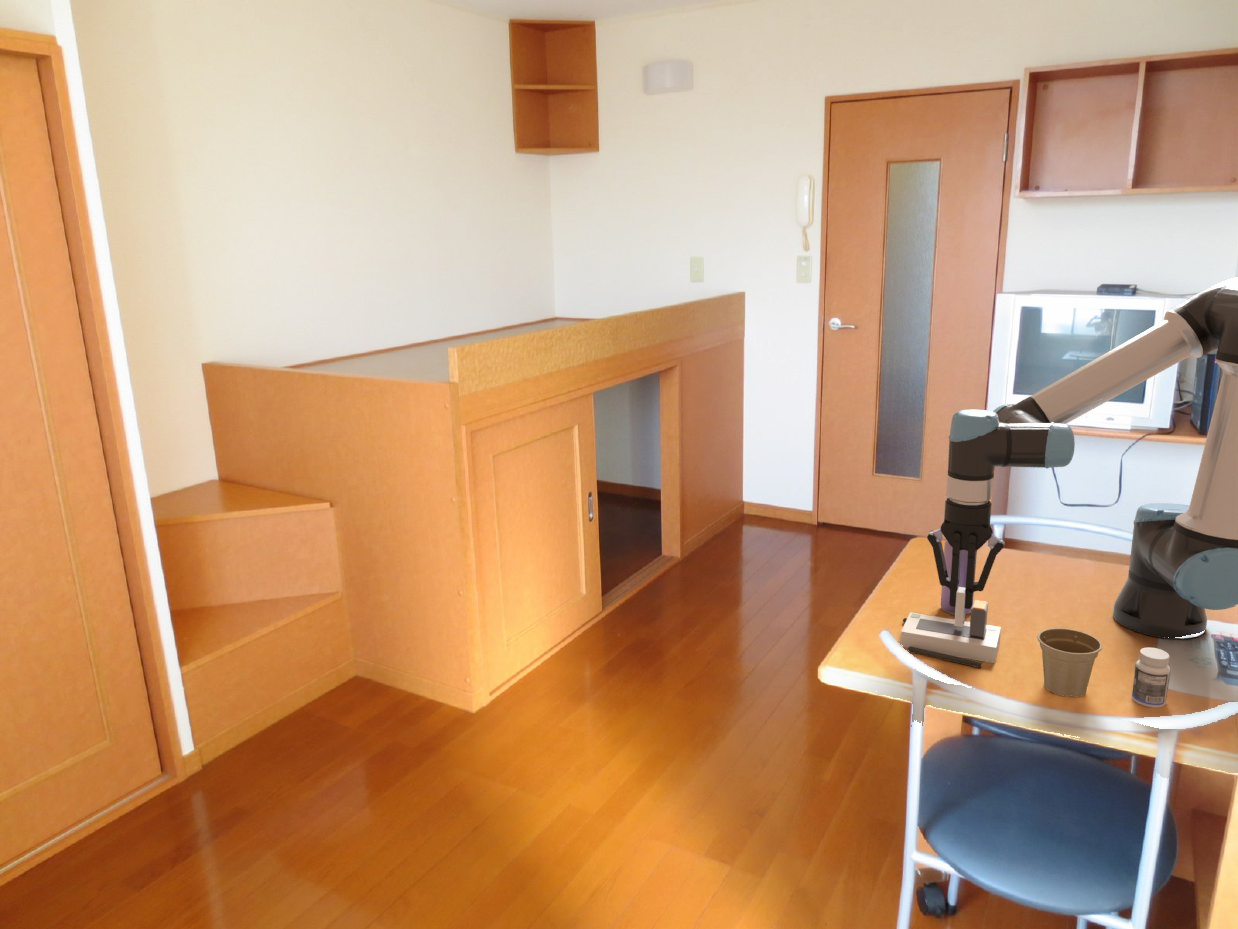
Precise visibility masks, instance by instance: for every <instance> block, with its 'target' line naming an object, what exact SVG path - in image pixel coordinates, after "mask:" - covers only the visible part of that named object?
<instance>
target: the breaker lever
mask: <svg viewBox="0 0 1238 929" xmlns="http://www.w3.org/2000/svg"><path fill="white" fill-rule="evenodd" d="M988 611H989V602H988V601H986V600H977V599H975V600H973V605H972V608H971V612H970V620H969V622H970V633H969V635H973V636H979V637H984V635H985V631H986V625H988V624H987V623H988V622H987V621H988Z"/></svg>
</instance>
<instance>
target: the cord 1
mask: <svg viewBox="0 0 1238 929" xmlns="http://www.w3.org/2000/svg"><path fill="white" fill-rule="evenodd" d="M908 650H909V651H910V653H913V654H916V655H917V654H918V655H923V656H927V657H931V658H936V659H940V660H943V661H949V662H953V663H957V664H960V665H966V666H971V667H975V668H978V669H980V668H981V667H982V662H983V661H979V660H973V659H968V658H962V657H956V656H951V655H947V654H943V653H938V652H934V651H929V650H925V649H920V648H916V647H911V646H910V647H908V648H907V651H908ZM909 651H908V652H909Z"/></svg>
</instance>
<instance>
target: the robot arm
mask: <svg viewBox="0 0 1238 929" xmlns="http://www.w3.org/2000/svg"><path fill="white" fill-rule="evenodd" d="M1213 351H1216V354H1215V360H1214V361H1215V362H1216V364H1217V365H1218V366H1219V368H1220V369H1221V370H1222V376H1221V380H1220V384H1219V388H1218V391H1217V396H1216V398H1215V403H1214V407H1213V412H1212V415H1211V419H1210V424H1209V427H1208V431H1207V436H1206V440H1205V442H1204V443H1205V444H1204V447H1203V451H1202V455H1201V459H1200V463H1199V467H1198V471H1197V475H1196V478H1195V482H1194V486H1193V487H1194V488H1193V492H1192V495H1191V499H1190V502H1189V504H1183V503H1182V504H1181V503H1173V502H1172V503H1171V502H1170V503H1169V502H1166V503H1165V502H1164V503H1163V502H1155V503H1145V504H1143V505H1140V506H1139V507H1138V508H1137V509H1136V513H1135V518H1134V520H1133V530H1132V531H1133V532H1132V538H1131V539H1132V540H1131V541H1132V542H1131V547H1130V548H1131V550H1130V558H1129V559H1130V560H1129V566H1128V568H1129V569H1128V576H1127V579H1126V581H1125V583H1124V585H1123V587H1122V588H1121V590H1120V593H1118V596H1117V598H1116V600H1115V601H1114V605H1113V610H1112V611H1113V612H1112V616H1113V619H1114V620H1115V621H1116V622H1117V623H1118V624H1120V625H1121V626H1123V627H1125V628H1127V629H1129V630H1131V631H1133V632H1137V633H1140V634H1143V635H1146V636H1151V637H1154V638H1161V639H1168V637H1169V638H1175V637H1182V636H1186V635H1191V634H1196V633H1200V632H1202V631H1204V630H1205V629H1206V630H1207V624H1208V618H1207V617H1208V616H1207V612H1206V610H1208V611H1209V610H1211V611H1222V610H1227V609H1231V608H1234V607H1236V606H1238V276H1236V277H1232V278H1228V279H1225V280H1223V281H1221V282H1218V283H1216V284H1214V285H1212V286H1210V287H1207V288H1206V289H1204V290H1202V291H1200V292H1199V293H1197V294H1195V295H1194V296H1192V297H1190V298H1188V299H1186V300H1184V301H1183V302H1181V303H1180V304H1177V305H1175V306H1174V307H1172V308H1170V310H1168V311H1166V312H1165V314H1164V316H1163V320H1162V321H1160V322H1158V323H1157V324H1154V325H1153V326H1151V327H1150V328H1148V329H1146V330H1145V331H1143V332H1141V333H1139V334H1137V335H1135V336H1133V337H1132V338H1130V339H1128V340H1127V341H1125V342H1123V343H1121V344H1119V345H1118V346H1116V347H1114V348H1113V349H1111V350H1109V351H1107V352H1105V353H1104V354H1102V355H1101V356H1098V357H1097V358H1094V359H1093V360H1092V361H1090V362H1088V363H1086V364H1085V365H1083V366H1081V367H1079V368H1077V369H1075V371H1073V372H1070V373H1069V374H1067V375H1065V376H1063V377H1061V378H1060V379H1058V380H1057V381H1055V382H1053V383H1051V384H1049V385H1047V387H1044V388H1042V389H1041V390H1039V391H1037V392H1035V393H1033V394H1031V395H1030V396H1028V397H1026V398H1024V399H1022V400H1021V401H1019V402H1017V403H1005V404H1002V405H999V406H997V407H995V409H993V411H991V410H988V409H987V410H986V409H978V408H977V409H976V408H975V409H973V408H972V409H968V408H967V409H962V410H958V411H956V412H955V413H954V414H953V415H952V418H951V424H950V430H949V431H950V432H949V435H948V439H949V440H948V441H949V442H948V459H947V460H948V462H947V463H948V464H947V473H946V487H945V489H946V490H945V496H947V498H945V504H944V517H943V518H944V519H943V522H942V524H941V525H940V528H938V529H936V530H932V529H931V530H929V533H928V535H927V536H926V538H927V540H928V542H929V544H930V545H931V547H932V550H933V557H934V560H935V565H936V566H935V567H936V571H937V576H938V582H939V585H940V586H941V587H942V586H946V587H948V588H949V589H950V601H949V604H950V606H953V607H955V615H954V620H955V621H954V626H959V627H963V625H964V622H965V621H966V615H965V610H966V609H971V607H972V604H973V602H974V597H973V593H974V594H975V592H982V591H984V590H985V586H986V585H987V581H988V579H989V576H990V574H991V570H992V568H993V565H994V563H995V560H996V558H997V555H999V553H1000V552H1002V550H1003V549H1004V546H1005V544H1006V542H1005V538H999V537H997V535H995V534H993V533H994V532H993V529H992V527H991V516H992V502H991V500H992V498H993V491H994V490H993V489H994V477H995V470H996V467H999V468H1007V467H1008V468H1009V467H1010V468H1038V469H1039V468H1041V469H1042V468H1044V469H1051V468H1064V467H1067V466H1068V465H1069V464H1070V463H1071V462H1072V460H1073V457H1074V453H1075V444H1076V443H1075V442H1076V441H1075V434H1074V430H1073V429H1072V427H1071V426H1070V425H1069V423H1070V422H1072V421H1074V420H1076V419H1077V418H1080V417H1081V416H1083V415H1084V414H1087V413H1088V412H1090V411H1092V410H1094V409H1096V408H1098V407H1099V406H1101V405H1103V404H1105V403H1107V402H1109V401H1110V400H1112V399H1114V398H1116V397H1118V396H1120V395H1122V394H1123V393H1125V392H1127V391H1129V390H1131V389H1132V388H1134V387H1136V386H1137V385H1139V384H1141V383H1143V382H1145V381H1147V380H1149V379H1151V378H1152V377H1154V376H1156V375H1158V374H1160V373H1162V372H1163V371H1165V370H1167V369H1169V368H1171V367H1173V366H1174V365H1176V364H1178V363H1180V362H1182V361H1184V360H1185V359H1187V358H1197V359H1198V358H1199V359H1200V358H1201V357H1203V356H1205V355H1208V354H1209V353H1212V352H1213ZM943 536H944V538H945V541H946V540H947V541H948V543H949V544H950V545H951V547H953V549H952V567H951V579H950V578H949V577H948V572H947V567H946V562H945V557H944V548H943V542H942V541H943ZM988 541H989V543H988V547H989V552H988V555H987V556H986V560H985V562H984V565H983V568H982V570H981V574H980V576H979V579H978V581H975V580H976V570H975V569H976V568H977V557H976V555H978V554H977V553H978V550H980V549H981V548H982V547H983V546H984V545H985V544H986V543H987V542H988ZM962 550H966V551H968V560H967V574H966V588H964V587H958V586H959V577H960V563H961V551H962ZM1164 637H1165V638H1164Z"/></svg>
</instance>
